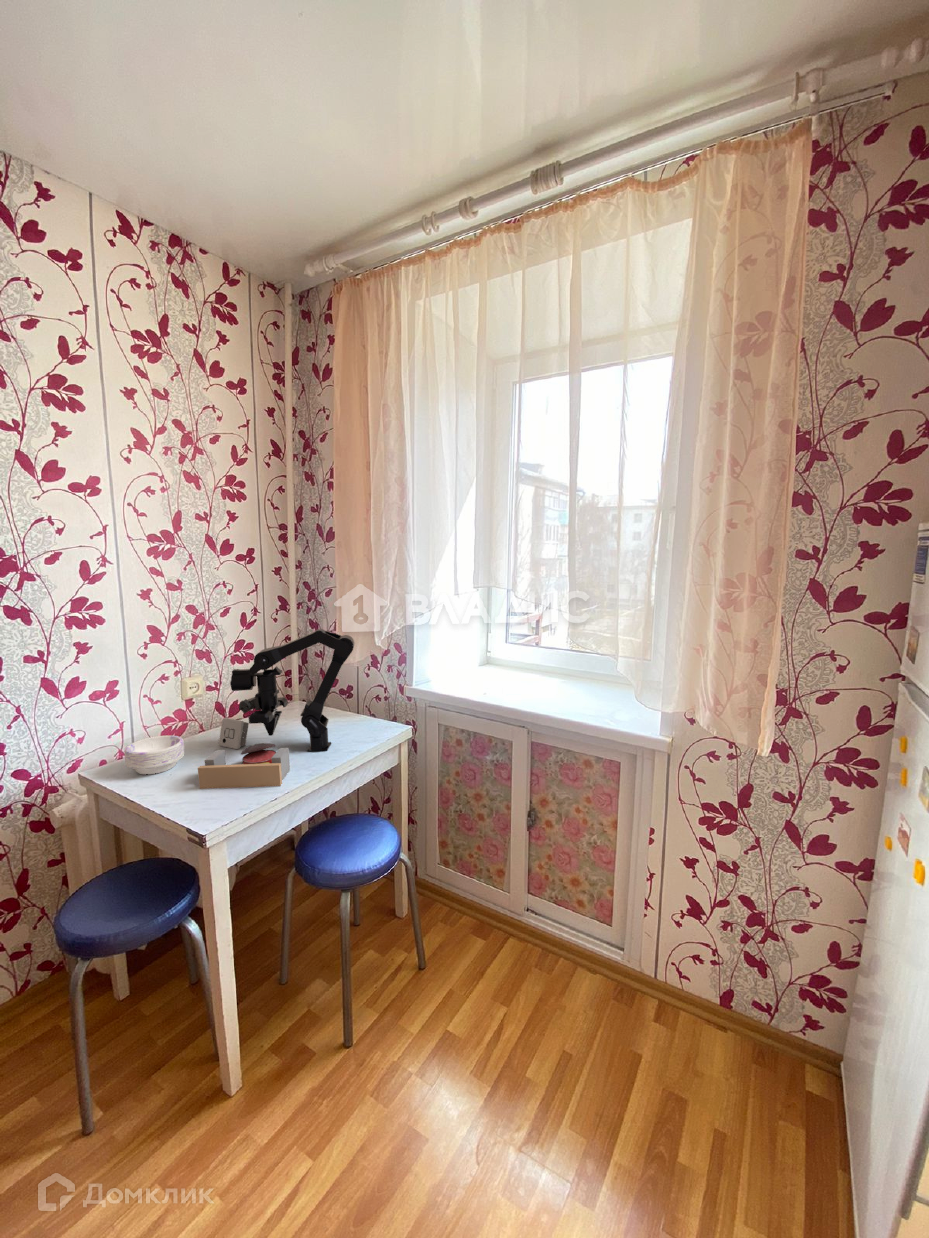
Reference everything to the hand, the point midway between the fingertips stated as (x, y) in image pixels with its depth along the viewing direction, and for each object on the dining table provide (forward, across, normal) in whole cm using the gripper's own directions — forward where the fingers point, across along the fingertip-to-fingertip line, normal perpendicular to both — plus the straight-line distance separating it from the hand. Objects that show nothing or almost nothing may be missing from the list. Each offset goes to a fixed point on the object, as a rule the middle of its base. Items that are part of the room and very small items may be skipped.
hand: (271, 735), depth 160 cm
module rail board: (+6, +19, 0) cm, 20 cm away
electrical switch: (+6, -7, -15) cm, 18 cm away
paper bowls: (+6, +10, -31) cm, 33 cm away
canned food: (+6, +10, 0) cm, 12 cm away
